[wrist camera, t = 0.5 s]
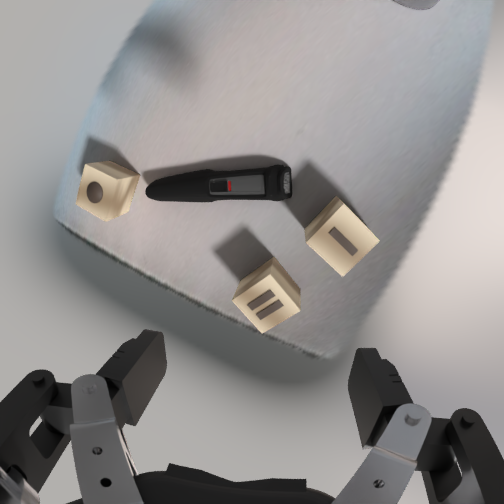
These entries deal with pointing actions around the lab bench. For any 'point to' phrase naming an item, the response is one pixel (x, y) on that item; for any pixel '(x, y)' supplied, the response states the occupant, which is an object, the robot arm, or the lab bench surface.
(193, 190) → the electric trimmer
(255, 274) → the maple block
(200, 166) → the lab bench surface
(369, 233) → the maple block
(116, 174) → the maple block
